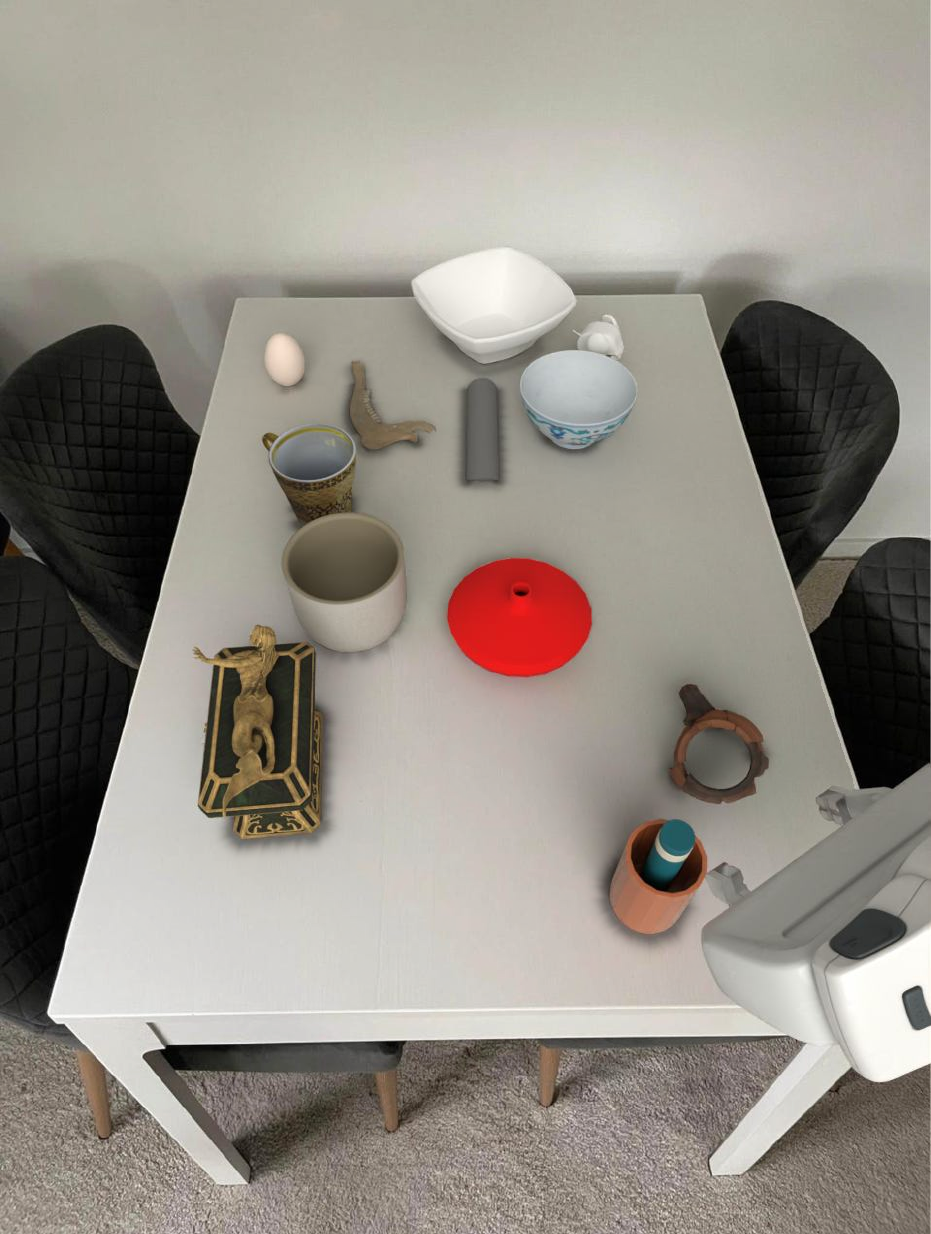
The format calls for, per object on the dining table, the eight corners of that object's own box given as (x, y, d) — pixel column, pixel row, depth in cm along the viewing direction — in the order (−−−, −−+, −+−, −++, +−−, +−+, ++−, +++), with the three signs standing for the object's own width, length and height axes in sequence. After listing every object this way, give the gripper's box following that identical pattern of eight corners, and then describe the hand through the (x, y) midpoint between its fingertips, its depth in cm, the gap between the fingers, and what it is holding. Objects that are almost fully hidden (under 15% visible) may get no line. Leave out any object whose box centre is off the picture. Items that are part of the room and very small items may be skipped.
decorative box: (236, 702, 86) (184, 584, 70) (329, 695, 86) (297, 576, 70) (219, 893, 74) (151, 803, 58) (327, 884, 74) (288, 792, 59)
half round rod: (466, 485, 105) (465, 475, 103) (467, 388, 116) (467, 377, 115) (499, 485, 105) (499, 475, 103) (497, 388, 116) (497, 377, 115)
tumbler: (693, 887, 74) (720, 846, 66) (662, 948, 71) (686, 913, 63) (629, 849, 76) (648, 805, 68) (596, 907, 73) (612, 868, 65)
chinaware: (628, 475, 106) (638, 428, 100) (512, 466, 107) (515, 419, 101) (628, 400, 115) (637, 353, 108) (521, 393, 116) (524, 346, 110)
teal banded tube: (666, 890, 73) (702, 830, 62) (653, 916, 72) (687, 859, 61) (639, 874, 74) (669, 811, 63) (625, 899, 73) (654, 840, 62)
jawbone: (382, 470, 107) (380, 458, 106) (304, 392, 117) (301, 380, 116) (438, 437, 110) (436, 426, 108) (357, 364, 120) (354, 352, 118)
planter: (361, 560, 97) (351, 494, 89) (433, 620, 92) (429, 556, 83) (276, 619, 92) (256, 555, 83) (347, 686, 87) (333, 626, 78)
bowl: (397, 330, 125) (393, 278, 118) (509, 288, 131) (511, 237, 124) (470, 404, 114) (470, 351, 108) (588, 355, 121) (595, 302, 114)
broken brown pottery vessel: (785, 774, 81) (792, 774, 73) (701, 821, 83) (699, 826, 75) (716, 671, 85) (716, 661, 77) (637, 717, 86) (629, 713, 78)
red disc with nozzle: (461, 566, 97) (461, 525, 91) (595, 584, 95) (603, 544, 89) (434, 677, 88) (431, 639, 82) (581, 700, 86) (589, 663, 80)
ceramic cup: (380, 504, 103) (373, 443, 95) (330, 554, 98) (317, 494, 90) (301, 465, 107) (287, 403, 99) (249, 511, 102) (230, 450, 94)
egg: (271, 372, 119) (260, 323, 113) (309, 370, 119) (300, 322, 113) (268, 396, 116) (256, 348, 109) (307, 394, 116) (298, 346, 109)
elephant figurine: (614, 379, 118) (620, 343, 113) (562, 365, 120) (566, 329, 115) (629, 353, 121) (635, 317, 116) (578, 339, 123) (582, 304, 118)
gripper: (1096, 763, 42) (872, 717, 55) (808, 993, 35) (631, 881, 48) (1123, 867, 43) (898, 798, 56) (850, 1107, 37) (667, 967, 50)
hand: (772, 838), depth 52 cm, fingers open, 8 cm apart
